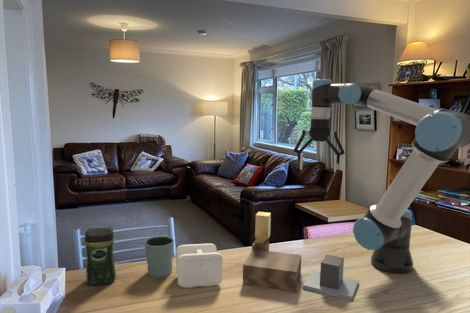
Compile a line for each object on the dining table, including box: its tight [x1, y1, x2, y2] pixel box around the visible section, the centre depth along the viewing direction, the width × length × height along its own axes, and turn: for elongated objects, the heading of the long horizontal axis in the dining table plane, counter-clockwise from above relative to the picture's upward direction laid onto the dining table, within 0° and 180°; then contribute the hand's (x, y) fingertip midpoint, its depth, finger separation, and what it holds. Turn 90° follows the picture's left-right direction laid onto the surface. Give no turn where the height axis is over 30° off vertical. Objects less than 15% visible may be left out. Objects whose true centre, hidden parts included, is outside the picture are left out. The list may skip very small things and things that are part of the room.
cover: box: [302, 254, 360, 301], centre depth 128 cm, size 16×13×10 cm
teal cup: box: [144, 235, 175, 279], centre depth 136 cm, size 10×10×12 cm
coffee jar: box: [83, 226, 117, 286], centre depth 128 cm, size 10×8×19 cm
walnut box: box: [242, 238, 302, 293], centre depth 137 cm, size 18×23×8 cm
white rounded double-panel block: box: [175, 243, 224, 289], centre depth 130 cm, size 15×11×12 cm
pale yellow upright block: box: [254, 211, 272, 244], centre depth 146 cm, size 5×8×10 cm, turn 164°
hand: (317, 170), depth 155 cm, fingers open, 13 cm apart
